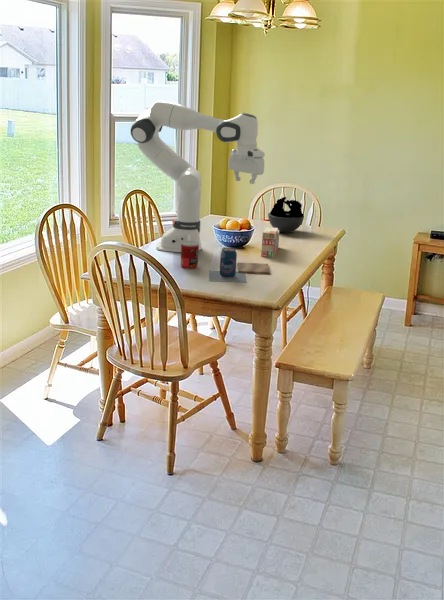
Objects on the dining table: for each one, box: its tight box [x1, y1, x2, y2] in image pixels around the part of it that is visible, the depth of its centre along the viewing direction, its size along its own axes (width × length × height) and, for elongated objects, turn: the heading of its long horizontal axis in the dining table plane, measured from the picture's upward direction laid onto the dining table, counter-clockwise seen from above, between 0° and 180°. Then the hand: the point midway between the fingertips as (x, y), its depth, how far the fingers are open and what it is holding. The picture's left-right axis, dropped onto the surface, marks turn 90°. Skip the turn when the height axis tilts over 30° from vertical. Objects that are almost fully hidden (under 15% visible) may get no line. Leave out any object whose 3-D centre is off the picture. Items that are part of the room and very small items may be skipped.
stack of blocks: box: [260, 226, 280, 259], centre depth 338 cm, size 21×6×12 cm, turn 170°
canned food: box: [180, 241, 200, 270], centre depth 305 cm, size 8×8×11 cm
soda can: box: [219, 247, 238, 278], centre depth 293 cm, size 7×7×12 cm
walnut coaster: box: [236, 261, 271, 275], centre depth 308 cm, size 14×14×1 cm
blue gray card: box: [208, 269, 247, 284], centre depth 295 cm, size 16×16×1 cm
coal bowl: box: [267, 196, 305, 234], centre depth 380 cm, size 20×20×19 cm
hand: (244, 182), depth 308 cm, fingers open, 8 cm apart
